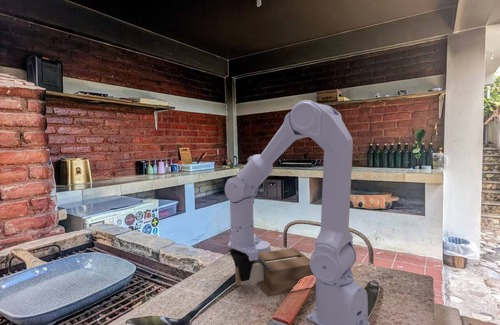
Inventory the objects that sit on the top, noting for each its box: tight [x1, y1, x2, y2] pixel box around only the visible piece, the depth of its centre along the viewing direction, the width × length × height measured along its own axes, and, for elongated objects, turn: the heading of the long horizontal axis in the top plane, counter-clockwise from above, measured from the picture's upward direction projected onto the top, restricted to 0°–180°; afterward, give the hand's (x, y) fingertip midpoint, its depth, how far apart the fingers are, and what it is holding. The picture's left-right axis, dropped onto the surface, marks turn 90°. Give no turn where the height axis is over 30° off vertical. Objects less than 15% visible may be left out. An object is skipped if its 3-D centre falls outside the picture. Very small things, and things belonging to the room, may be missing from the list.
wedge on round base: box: [227, 233, 271, 253], centre depth 95 cm, size 9×7×13 cm
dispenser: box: [254, 247, 316, 298], centre depth 74 cm, size 13×12×7 cm
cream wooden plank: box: [234, 257, 297, 286], centre depth 73 cm, size 17×1×4 cm, turn 108°
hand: (243, 278), depth 71 cm, fingers closed on cream wooden plank
